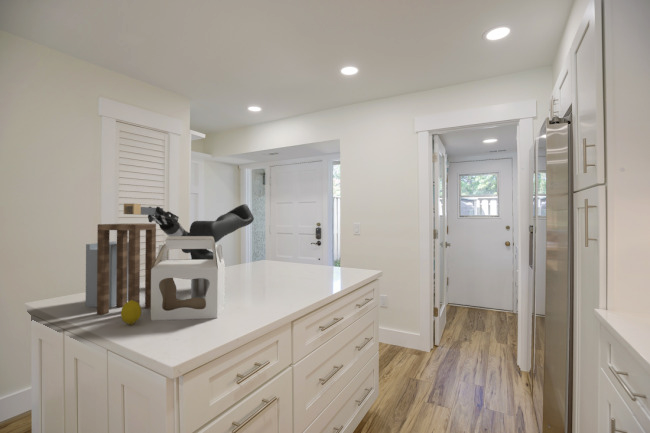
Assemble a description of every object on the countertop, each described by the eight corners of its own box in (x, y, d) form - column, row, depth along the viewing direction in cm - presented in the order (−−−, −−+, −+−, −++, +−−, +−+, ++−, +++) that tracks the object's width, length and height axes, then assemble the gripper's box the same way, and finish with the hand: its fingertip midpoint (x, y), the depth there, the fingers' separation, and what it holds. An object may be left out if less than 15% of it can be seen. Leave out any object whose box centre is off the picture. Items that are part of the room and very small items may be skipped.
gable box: (149, 320, 105) (150, 237, 105) (164, 309, 118) (165, 235, 118) (218, 318, 108) (218, 237, 108) (225, 307, 121) (225, 235, 121)
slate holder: (134, 297, 134) (135, 241, 134) (110, 307, 120) (110, 244, 120) (112, 297, 135) (112, 241, 135) (85, 306, 121) (86, 244, 121)
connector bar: (164, 215, 138) (164, 206, 138) (133, 214, 118) (133, 203, 118) (155, 215, 138) (155, 206, 138) (123, 214, 118) (123, 203, 118)
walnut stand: (155, 305, 122) (155, 223, 122) (134, 315, 110) (135, 224, 110) (120, 305, 123) (121, 223, 123) (96, 314, 111) (97, 224, 111)
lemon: (144, 322, 103) (145, 298, 103) (133, 328, 98) (133, 302, 98) (129, 321, 104) (129, 297, 104) (116, 327, 98) (116, 302, 98)
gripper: (184, 234, 146) (166, 215, 131) (155, 234, 146) (134, 215, 132) (188, 220, 149) (171, 200, 135) (160, 220, 150) (139, 201, 135)
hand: (153, 208), depth 133 cm, fingers closed on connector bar, 3 cm apart
